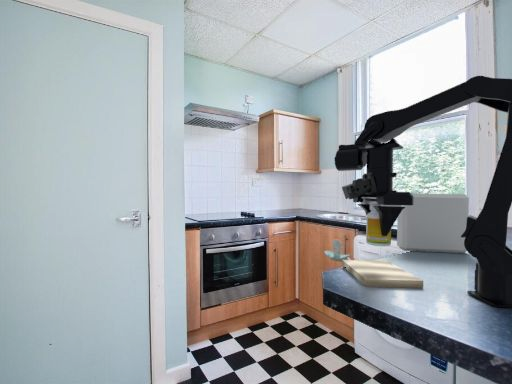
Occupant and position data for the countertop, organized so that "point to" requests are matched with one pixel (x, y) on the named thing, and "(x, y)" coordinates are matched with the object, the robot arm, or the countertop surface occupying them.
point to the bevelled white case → (433, 223)
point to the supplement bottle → (375, 229)
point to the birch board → (381, 274)
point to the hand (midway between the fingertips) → (378, 234)
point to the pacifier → (337, 252)
